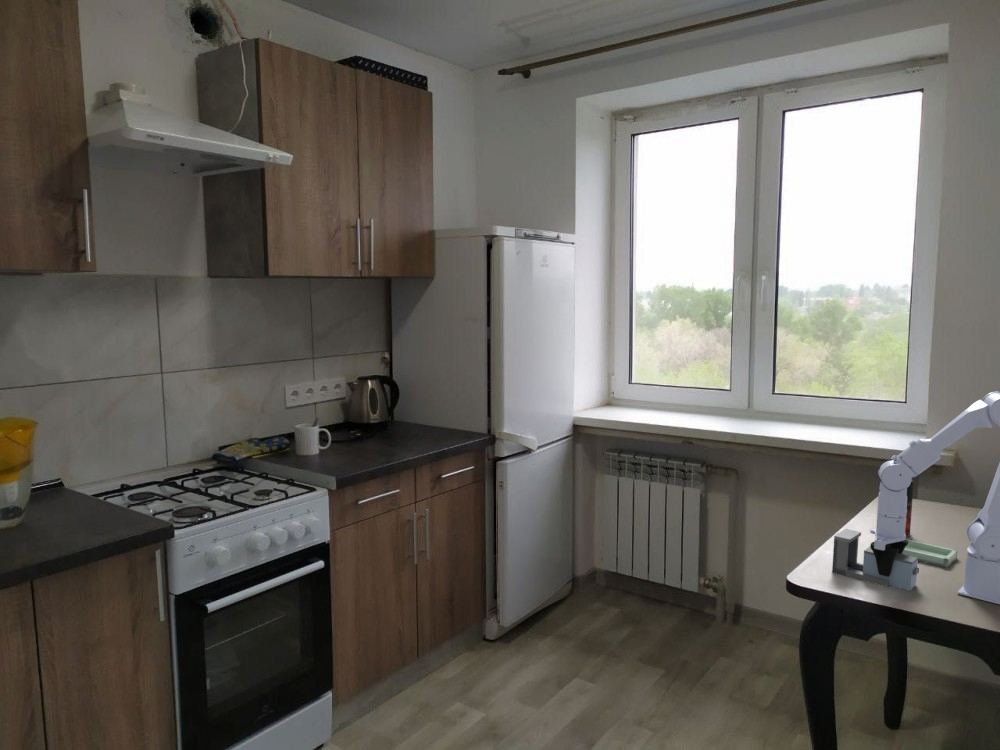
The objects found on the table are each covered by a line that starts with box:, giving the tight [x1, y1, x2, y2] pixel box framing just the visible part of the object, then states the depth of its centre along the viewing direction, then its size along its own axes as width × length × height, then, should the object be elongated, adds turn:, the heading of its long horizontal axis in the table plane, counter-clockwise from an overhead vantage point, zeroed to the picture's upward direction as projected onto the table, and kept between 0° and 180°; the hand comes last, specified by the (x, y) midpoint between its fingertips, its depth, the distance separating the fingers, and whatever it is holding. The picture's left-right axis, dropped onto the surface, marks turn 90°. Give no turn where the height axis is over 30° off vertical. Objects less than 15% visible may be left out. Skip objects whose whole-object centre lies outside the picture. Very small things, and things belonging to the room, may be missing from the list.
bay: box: [831, 528, 890, 588], centre depth 168 cm, size 12×7×9 cm, turn 45°
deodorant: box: [905, 479, 915, 538], centre depth 196 cm, size 6×6×15 cm
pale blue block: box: [862, 546, 920, 591], centre depth 164 cm, size 11×4×6 cm, turn 45°
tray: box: [902, 538, 958, 569], centre depth 181 cm, size 15×9×2 cm, turn 45°
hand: (887, 572), depth 164 cm, fingers closed on pale blue block, 4 cm apart
